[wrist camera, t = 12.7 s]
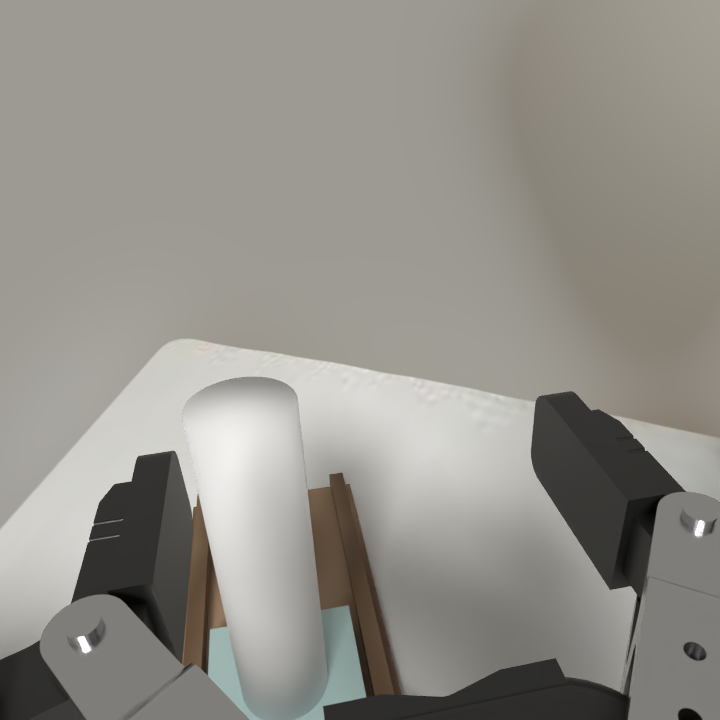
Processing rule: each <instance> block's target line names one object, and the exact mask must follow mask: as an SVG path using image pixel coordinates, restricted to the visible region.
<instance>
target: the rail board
mask: <svg viewBox="0 0 720 720" xmlns="http://www.w3.org/2000/svg"><path fill="white" fill-rule="evenodd" d="M329 476H330V487H326V488H319V489H312V490H308V498H309V507H310V517H311V526H312V535H313V544H314V553H315V562H316V571H317V580H318V589H319V598H320V607H321V610H324V609H330V608H336V607H342V606H347V605H349V610H350V615H351V620H352V626H353V631H354V636H355V641H356V646H357V652H358V657H359V662H360V667H361V672H362V677H363V683H364V688H365V693H366V697H370V696H375V695H380V694H391V695H401V692H400V688H399V684H398V680H397V676H396V672H395V668H394V663H393V659H392V655H391V651H390V647H389V643H388V639H387V635H386V631H385V627H384V623H383V619H382V615H381V611H380V606H379V602H378V598H377V594H376V590H375V586H374V582H373V578H372V574H371V570H370V566H369V562H368V558H367V554H366V550H365V545H364V541H363V537H362V533H361V529H360V525H359V521H358V517H357V513H356V509H355V505H354V501H353V497H352V493H351V488H350V484H346V485H345V483H344V478H343V474H342V473H337V474H330V475H329ZM221 627H227V623H226V618H225V614H224V609H223V605H222V600H221V595H220V591H219V586H218V582H217V577H216V572H215V568H214V563H213V559H212V554H211V550H210V545H209V540H208V536H207V531H206V527H205V522H204V517H203V513H202V508H201V504H200V499H199V494H198V496H197V507H194V509H193V540H192V552H191V564H190V576H189V588H188V600H187V612H186V624H185V636H184V648H183V660H182V665H183V666H185V667H187V666H188V665H189V664H190V663H193V664H195V665H197V666H198V667H199V668H200V669H202V670H203V671H204V672H205V673H206V674H207V675H208V664H209V642H210V629H215V628H221Z"/></svg>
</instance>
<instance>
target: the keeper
mask: <svg viewBox="0 0 720 720" xmlns="http://www.w3.org/2000/svg"><path fill="white" fill-rule="evenodd" d="M182 421H183V426H184V430H185V435H186V439H187V444H188V449H189V453H190V458H191V462H192V467H193V471H194V476H195V481H196V485H197V490H198V494H199V499H200V504H201V508H202V513H203V517H204V522H205V527H206V531H207V536H208V540H209V545H210V550H211V554H212V559H213V563H214V568H215V572H216V577H217V582H218V586H219V591H220V595H221V600H222V605H223V609H224V614H225V618H226V623H227V627H221V628H215V629H210V642H209V664H208V677H209V678H210V679H211V680H212V681H213V682H214V683H215V684H216V685H217V686H218V687H219V688H220V689H221V690H222V691H223V692H224V693H225V694H226V695H227V696H228V697H229V699H230V700H231V701H232V702H233V703H234V704H235V705H236V706H237V707H238V708H239V709H240V710H241V711H242V712H243V713H244V714H245V715H246V716H247V717H248V718H249V719H250V720H325V719H324V711H323V706H326V705H331V704H336V703H341V702H346V701H351V700H356V699H360V698H365V697H366V693H365V688H364V683H363V677H362V672H361V667H360V662H359V657H358V652H357V646H356V641H355V636H354V631H353V626H352V620H351V615H350V610H349V605H347V606H342V607H336V608H330V609H324V610H321V607H320V598H319V589H318V580H317V571H316V562H315V553H314V544H313V535H312V526H311V517H310V507H309V498H308V489H307V480H306V471H305V462H304V453H303V444H302V435H301V426H300V416H299V407H298V398H297V395H296V393H295V391H294V390H293V389H292V388H291V387H290V386H289V385H287V384H285V383H283V382H281V381H279V380H275V379H271V378H265V377H241V378H234V379H229V380H225V381H222V382H218V383H216V384H213V385H211V386H208V387H206V388H204V389H202V390H201V391H199V392H198V393H196V394H195V395H194V396H192V397H191V398H190V399H189V400H188V401H187V403H186V404H185V406H184V408H183V410H182Z"/></svg>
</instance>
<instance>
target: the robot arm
mask: <svg viewBox="0 0 720 720" xmlns="http://www.w3.org/2000/svg"><path fill="white" fill-rule="evenodd" d="M531 458H532V464H533V468H534V471H535V473H536V476H537V478H538V479H539V481H540V482H541V484H542V485H543V487H544V489H545V490H546V492H547V493H548V495H549V496H550V498H551V499H552V501H553V502H554V504H555V505H556V507H557V509H558V510H559V512H560V513H561V515H562V516H563V518H564V519H565V521H566V522H567V524H568V526H569V527H570V529H571V530H572V532H573V533H574V535H575V536H576V538H577V539H578V541H579V543H580V544H581V546H582V547H583V549H584V550H585V552H586V553H587V555H588V556H589V558H590V559H591V561H592V563H593V564H594V566H595V567H596V569H597V570H598V572H599V573H600V575H601V576H602V578H603V580H604V581H605V583H606V584H607V586H608V587H609V589H610V590H612V589H617V588H622V587H628V586H632V588H633V589H634V591H635V592H636V594H637V596H636V601H635V605H634V611H633V617H632V623H631V629H630V635H629V641H628V647H627V653H626V660H625V666H624V672H623V678H622V683H621V688H620V692H618V691H616V690H614V689H611V688H609V687H606V686H604V685H601V684H598V683H594V682H591V681H587V680H582V679H576V678H569V677H565V676H564V674H563V672H562V670H561V668H560V666H559V664H558V662H557V660H556V658H555V659H550V660H545V661H540V662H536V663H531V664H526V665H521V666H516V667H511V668H506V669H502V670H499V671H497V672H495V673H493V674H491V675H489V676H487V677H485V678H483V679H481V680H479V681H477V682H475V683H473V684H472V685H470V686H468V687H466V688H464V689H462V690H460V691H458V692H456V693H454V694H452V695H449V696H445V697H432V696H411V695H391V694H380V695H375V696H370V697H365V698H360V699H356V700H351V701H346V702H341V703H336V704H331V705H326V706H323V711H324V719H325V720H720V502H719V501H717V500H715V499H713V498H711V497H708V496H706V495H702V494H698V493H693V492H686V491H685V490H684V489H683V488H682V487H681V486H680V485H679V484H678V483H677V482H676V481H675V480H674V479H673V478H672V476H671V475H670V474H669V473H668V472H667V471H666V470H665V469H664V468H663V467H662V466H661V465H660V464H659V463H658V462H657V460H656V459H655V458H654V457H653V456H652V455H651V454H650V453H649V452H648V451H645V448H644V447H643V446H642V444H641V443H640V442H639V441H638V440H637V439H634V438H633V435H632V434H631V433H630V432H629V431H628V430H627V429H626V427H625V426H624V425H623V424H622V423H621V422H620V421H619V420H617V419H615V418H613V417H611V416H610V415H608V414H606V413H604V412H602V411H600V410H593V411H591V410H590V409H589V408H588V407H587V406H586V405H585V404H584V402H583V401H582V400H581V399H580V398H579V397H578V396H577V395H576V394H575V393H574V392H564V393H558V394H550V395H544V396H539V397H538V398H537V400H536V404H535V414H534V425H533V435H532V446H531ZM89 540H90V542H89V543H88V545H87V548H86V552H85V555H84V559H83V562H82V566H81V570H80V573H79V577H78V580H77V584H76V587H75V591H74V595H73V598H72V602H71V604H70V605H68V606H66V607H65V608H64V609H62V610H61V611H60V612H59V613H58V614H56V615H55V616H54V617H53V618H52V620H51V621H50V622H49V623H48V625H47V626H46V628H45V629H44V632H43V634H42V636H41V640H40V641H38V642H36V643H35V644H33V645H32V646H30V647H28V648H26V649H24V650H21V651H19V652H17V653H15V654H12V655H10V656H8V657H6V658H3V659H1V660H0V720H250V719H249V718H248V717H247V716H246V715H245V714H244V713H243V712H242V711H241V710H240V709H239V708H238V707H237V706H236V705H235V704H234V703H233V702H232V701H231V700H230V699H229V697H228V696H227V695H226V694H225V693H224V692H223V691H222V690H221V689H220V688H219V687H218V686H217V685H216V684H215V683H214V682H213V681H212V680H211V679H210V678H209V677H208V675H207V674H206V673H205V672H204V671H203V670H202V669H200V668H199V667H198V666H197V665H195V664H193V663H190V664H189V665H188V666H187V667H185V666H183V665H182V660H183V648H184V636H185V624H186V612H187V600H188V588H189V576H190V564H191V552H192V540H193V520H192V512H191V507H190V502H189V499H188V495H187V491H186V487H185V483H184V479H183V476H182V472H181V468H180V464H179V460H178V457H177V454H176V452H175V451H169V452H162V453H156V454H149V455H143V456H138V457H137V460H136V464H135V468H134V473H133V477H132V482H125V483H119V484H114V485H113V487H112V488H111V489H110V490H109V491H108V493H107V494H106V495H105V496H104V498H103V499H102V500H101V501H100V503H99V505H98V509H97V512H96V516H95V520H94V526H93V527H92V530H91V534H90V537H89Z"/></svg>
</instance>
